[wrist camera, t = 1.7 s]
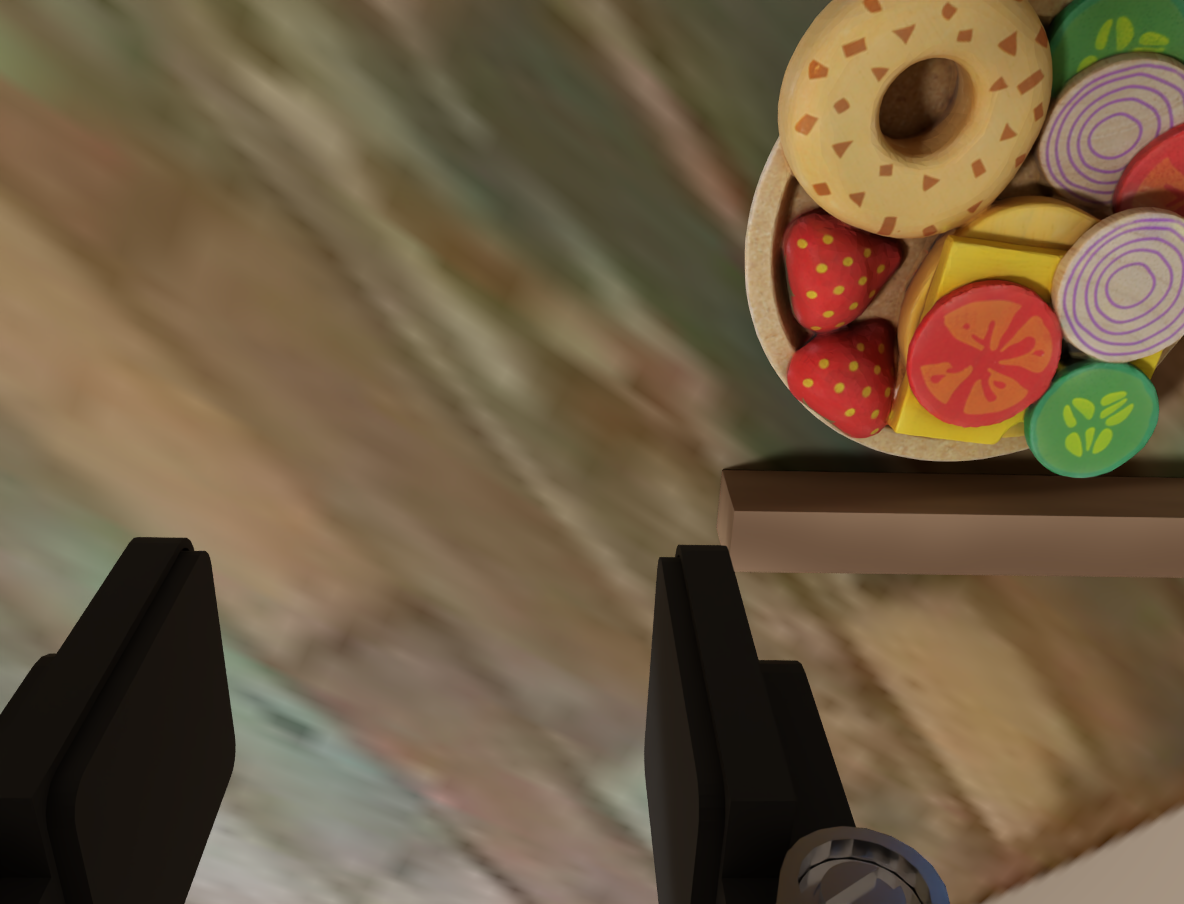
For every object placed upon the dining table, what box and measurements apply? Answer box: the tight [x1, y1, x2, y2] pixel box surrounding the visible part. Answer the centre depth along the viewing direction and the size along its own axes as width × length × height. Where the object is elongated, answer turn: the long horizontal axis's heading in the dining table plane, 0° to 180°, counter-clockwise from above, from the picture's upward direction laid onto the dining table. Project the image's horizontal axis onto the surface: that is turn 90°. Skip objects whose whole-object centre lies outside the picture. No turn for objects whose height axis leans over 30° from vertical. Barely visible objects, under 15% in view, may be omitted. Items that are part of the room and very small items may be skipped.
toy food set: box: [745, 0, 1184, 478], centre depth 29 cm, size 13×13×3 cm
